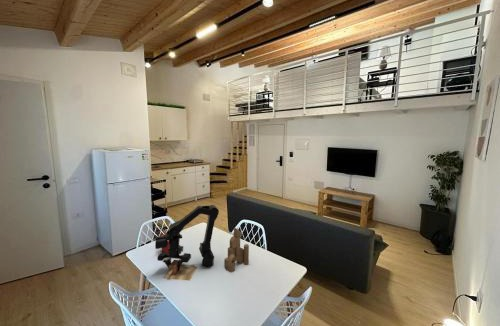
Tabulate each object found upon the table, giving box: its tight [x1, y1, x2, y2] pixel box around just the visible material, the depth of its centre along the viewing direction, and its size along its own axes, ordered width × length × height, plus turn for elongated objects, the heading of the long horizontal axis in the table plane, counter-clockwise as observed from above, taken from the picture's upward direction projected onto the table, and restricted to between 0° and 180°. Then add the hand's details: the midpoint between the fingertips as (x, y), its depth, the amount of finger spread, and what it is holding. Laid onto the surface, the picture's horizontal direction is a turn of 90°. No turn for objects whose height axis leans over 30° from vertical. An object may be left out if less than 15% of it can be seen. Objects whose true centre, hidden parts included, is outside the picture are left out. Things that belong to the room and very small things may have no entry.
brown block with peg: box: [168, 259, 179, 278], centre depth 131 cm, size 4×11×6 cm, turn 174°
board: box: [162, 262, 198, 281], centre depth 133 cm, size 16×14×4 cm
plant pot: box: [160, 233, 181, 255], centre depth 158 cm, size 13×13×12 cm
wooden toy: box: [223, 227, 250, 273], centre depth 141 cm, size 15×7×25 cm, turn 131°
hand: (174, 270), depth 133 cm, fingers open, 5 cm apart
